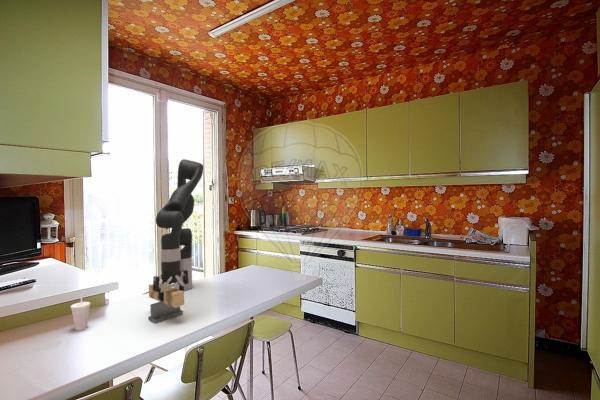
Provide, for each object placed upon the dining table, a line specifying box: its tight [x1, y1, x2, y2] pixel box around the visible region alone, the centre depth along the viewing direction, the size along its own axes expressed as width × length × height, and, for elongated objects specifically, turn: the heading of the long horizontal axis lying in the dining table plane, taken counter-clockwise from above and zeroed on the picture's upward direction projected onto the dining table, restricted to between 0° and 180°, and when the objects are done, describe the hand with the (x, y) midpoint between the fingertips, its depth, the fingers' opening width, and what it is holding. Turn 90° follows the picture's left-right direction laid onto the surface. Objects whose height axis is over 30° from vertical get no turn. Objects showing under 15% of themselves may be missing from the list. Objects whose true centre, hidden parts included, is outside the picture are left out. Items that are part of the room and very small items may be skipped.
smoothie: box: [70, 293, 91, 332], centre depth 120 cm, size 6×6×14 cm
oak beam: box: [148, 282, 185, 308], centre depth 130 cm, size 22×4×6 cm, turn 51°
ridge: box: [147, 301, 184, 325], centre depth 130 cm, size 6×12×7 cm, turn 142°
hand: (171, 297), depth 127 cm, fingers open, 8 cm apart
